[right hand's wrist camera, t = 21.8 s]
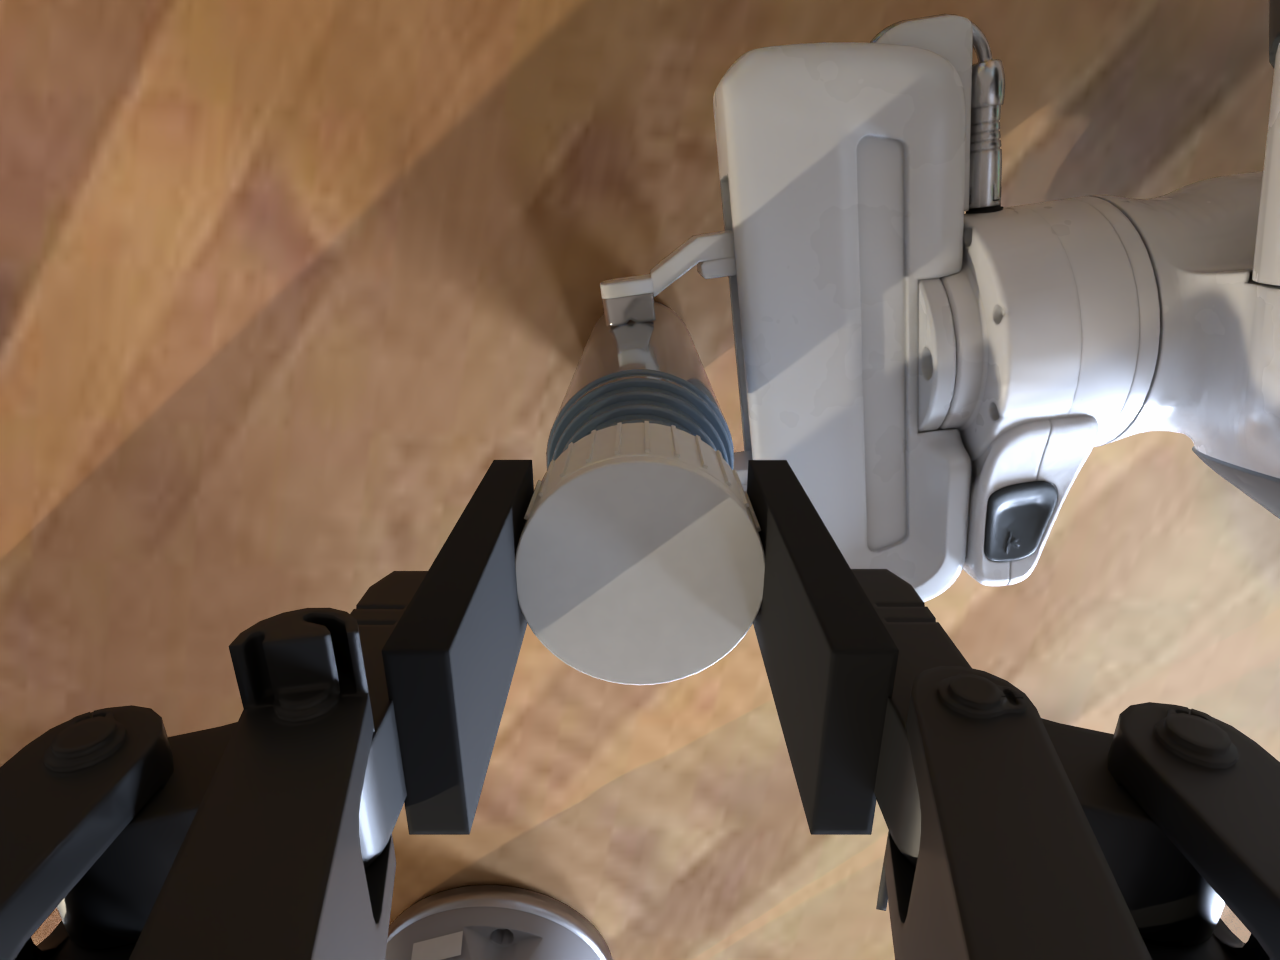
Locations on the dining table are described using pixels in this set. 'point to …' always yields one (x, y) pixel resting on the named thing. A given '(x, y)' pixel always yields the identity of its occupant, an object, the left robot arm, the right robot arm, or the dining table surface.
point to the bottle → (640, 385)
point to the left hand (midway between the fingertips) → (616, 388)
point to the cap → (640, 556)
